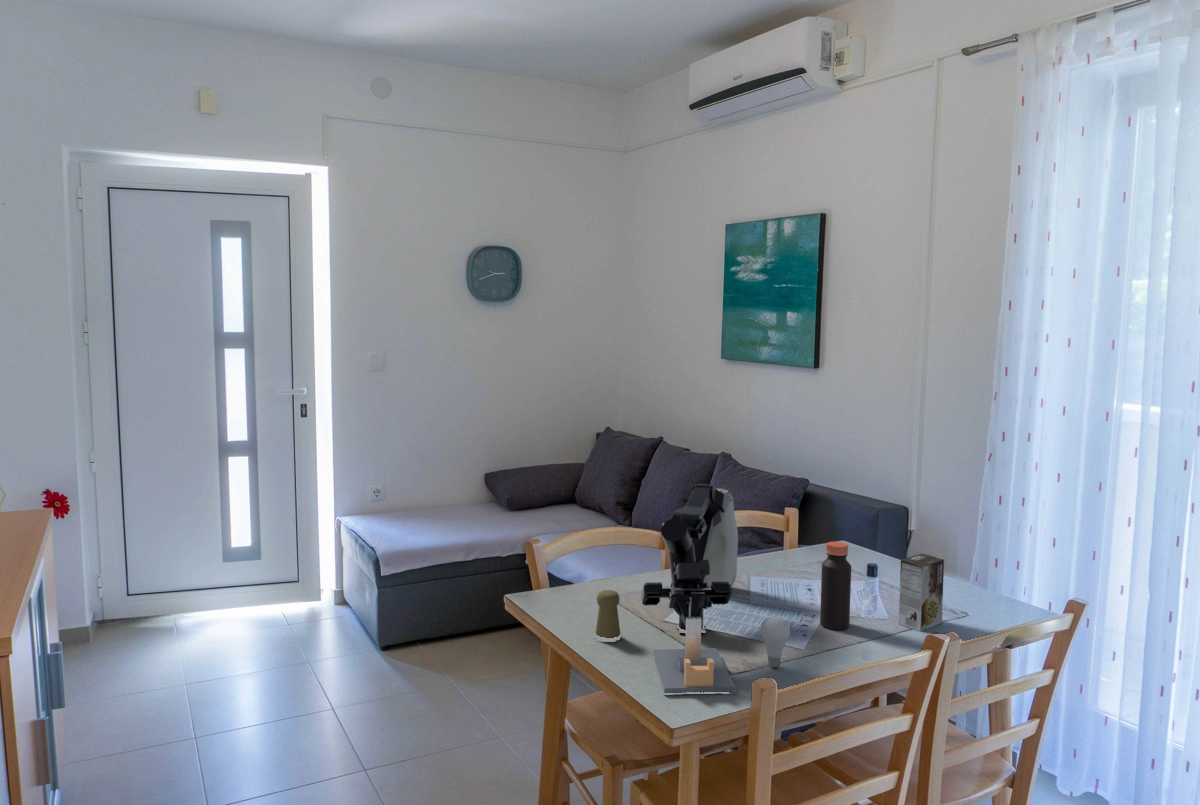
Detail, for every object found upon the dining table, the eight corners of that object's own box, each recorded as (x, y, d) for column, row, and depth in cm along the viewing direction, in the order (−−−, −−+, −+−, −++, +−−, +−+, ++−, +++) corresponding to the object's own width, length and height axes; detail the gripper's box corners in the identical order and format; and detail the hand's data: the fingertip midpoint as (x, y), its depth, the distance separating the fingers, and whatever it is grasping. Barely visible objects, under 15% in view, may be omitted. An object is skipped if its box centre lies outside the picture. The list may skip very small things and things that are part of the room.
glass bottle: (692, 587, 227) (693, 486, 224) (725, 582, 231) (726, 484, 228) (709, 598, 218) (711, 493, 215) (743, 593, 221) (745, 491, 219)
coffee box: (918, 616, 205) (921, 552, 204) (942, 623, 200) (945, 558, 198) (896, 624, 200) (899, 559, 198) (920, 632, 195) (923, 565, 193)
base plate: (652, 656, 180) (652, 628, 179) (716, 654, 181) (716, 627, 180) (664, 695, 161) (664, 664, 161) (735, 694, 162) (735, 663, 161)
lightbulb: (784, 661, 178) (786, 611, 177) (792, 673, 172) (793, 622, 171) (756, 661, 178) (757, 611, 176) (763, 673, 171) (764, 622, 170)
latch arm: (685, 665, 169) (685, 663, 170) (700, 665, 169) (699, 663, 170) (686, 619, 168) (686, 617, 169) (701, 618, 168) (700, 616, 169)
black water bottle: (838, 632, 194) (841, 549, 192) (814, 624, 199) (816, 543, 197) (855, 626, 198) (857, 544, 196) (831, 618, 203) (833, 538, 201)
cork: (605, 630, 195) (606, 585, 194) (626, 637, 191) (626, 590, 190) (589, 638, 190) (589, 592, 189) (609, 645, 186) (610, 597, 185)
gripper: (643, 545, 175) (649, 614, 165) (731, 545, 176) (741, 613, 166) (639, 571, 184) (644, 637, 174) (722, 570, 185) (732, 636, 175)
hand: (690, 630), depth 172 cm, fingers closed
